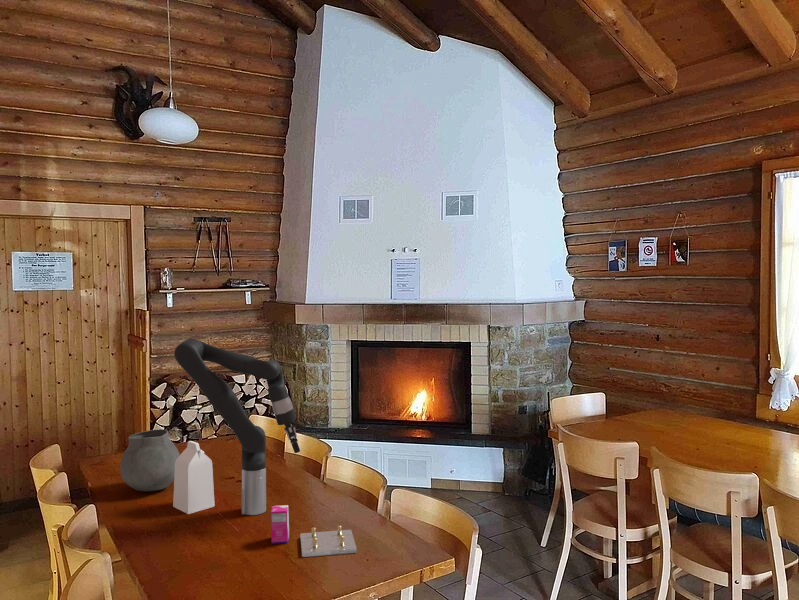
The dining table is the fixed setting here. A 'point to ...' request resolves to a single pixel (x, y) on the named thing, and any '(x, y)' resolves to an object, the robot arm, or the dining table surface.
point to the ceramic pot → (149, 461)
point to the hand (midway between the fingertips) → (296, 450)
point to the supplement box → (279, 524)
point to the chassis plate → (327, 542)
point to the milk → (193, 480)
